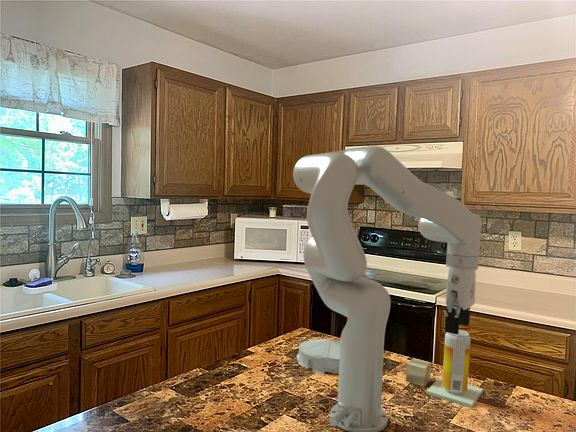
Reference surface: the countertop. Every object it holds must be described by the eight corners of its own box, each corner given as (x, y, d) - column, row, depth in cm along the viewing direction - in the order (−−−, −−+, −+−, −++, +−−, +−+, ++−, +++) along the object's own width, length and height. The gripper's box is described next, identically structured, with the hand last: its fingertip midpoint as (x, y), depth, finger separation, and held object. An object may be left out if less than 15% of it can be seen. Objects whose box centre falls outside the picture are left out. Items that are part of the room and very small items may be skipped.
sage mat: (471, 407, 105) (471, 404, 105) (426, 393, 112) (426, 390, 112) (482, 391, 114) (483, 388, 114) (440, 379, 121) (440, 377, 121)
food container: (281, 363, 130) (282, 341, 129) (318, 344, 146) (319, 324, 145) (340, 383, 118) (341, 359, 117) (373, 360, 134) (374, 339, 133)
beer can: (462, 385, 116) (466, 329, 115) (470, 396, 109) (474, 337, 109) (439, 383, 116) (442, 328, 115) (445, 394, 110) (449, 335, 109)
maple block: (424, 386, 116) (425, 368, 116) (405, 381, 119) (406, 363, 119) (430, 380, 120) (431, 362, 120) (412, 375, 123) (413, 358, 123)
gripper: (468, 267, 102) (463, 340, 103) (486, 261, 116) (480, 325, 116) (436, 262, 106) (431, 332, 107) (456, 257, 120) (451, 319, 121)
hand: (457, 328), depth 112 cm, fingers open, 9 cm apart
